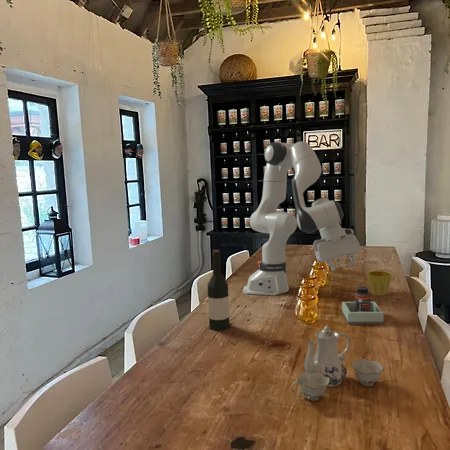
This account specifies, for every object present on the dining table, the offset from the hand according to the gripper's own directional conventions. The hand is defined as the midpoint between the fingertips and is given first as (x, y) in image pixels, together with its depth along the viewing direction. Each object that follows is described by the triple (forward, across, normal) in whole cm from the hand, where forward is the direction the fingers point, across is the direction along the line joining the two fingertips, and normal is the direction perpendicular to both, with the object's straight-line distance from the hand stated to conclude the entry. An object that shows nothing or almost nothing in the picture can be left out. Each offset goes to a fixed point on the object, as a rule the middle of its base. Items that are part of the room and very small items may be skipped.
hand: (344, 267), depth 176 cm
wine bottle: (+8, -55, +12) cm, 57 cm away
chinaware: (+32, -43, -38) cm, 66 cm away
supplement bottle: (+20, -2, -3) cm, 21 cm away
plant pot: (+15, +25, +18) cm, 34 cm away
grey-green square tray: (+21, -2, -3) cm, 21 cm away
